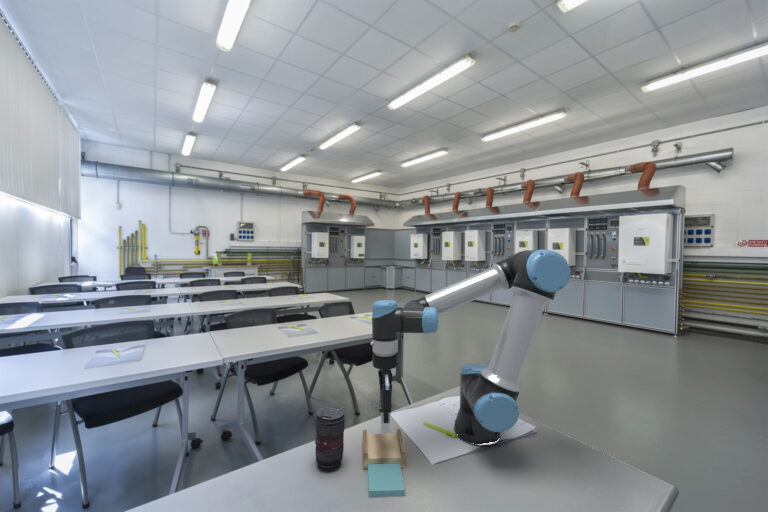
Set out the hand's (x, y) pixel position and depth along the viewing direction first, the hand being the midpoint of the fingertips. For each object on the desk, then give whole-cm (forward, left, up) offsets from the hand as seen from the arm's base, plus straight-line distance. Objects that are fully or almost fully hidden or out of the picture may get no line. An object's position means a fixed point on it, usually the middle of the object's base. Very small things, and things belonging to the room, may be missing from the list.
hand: (385, 431), depth 94 cm
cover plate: (+1, +11, -8) cm, 13 cm away
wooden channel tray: (+1, 0, -7) cm, 7 cm away
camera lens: (+16, +3, -8) cm, 18 cm away
